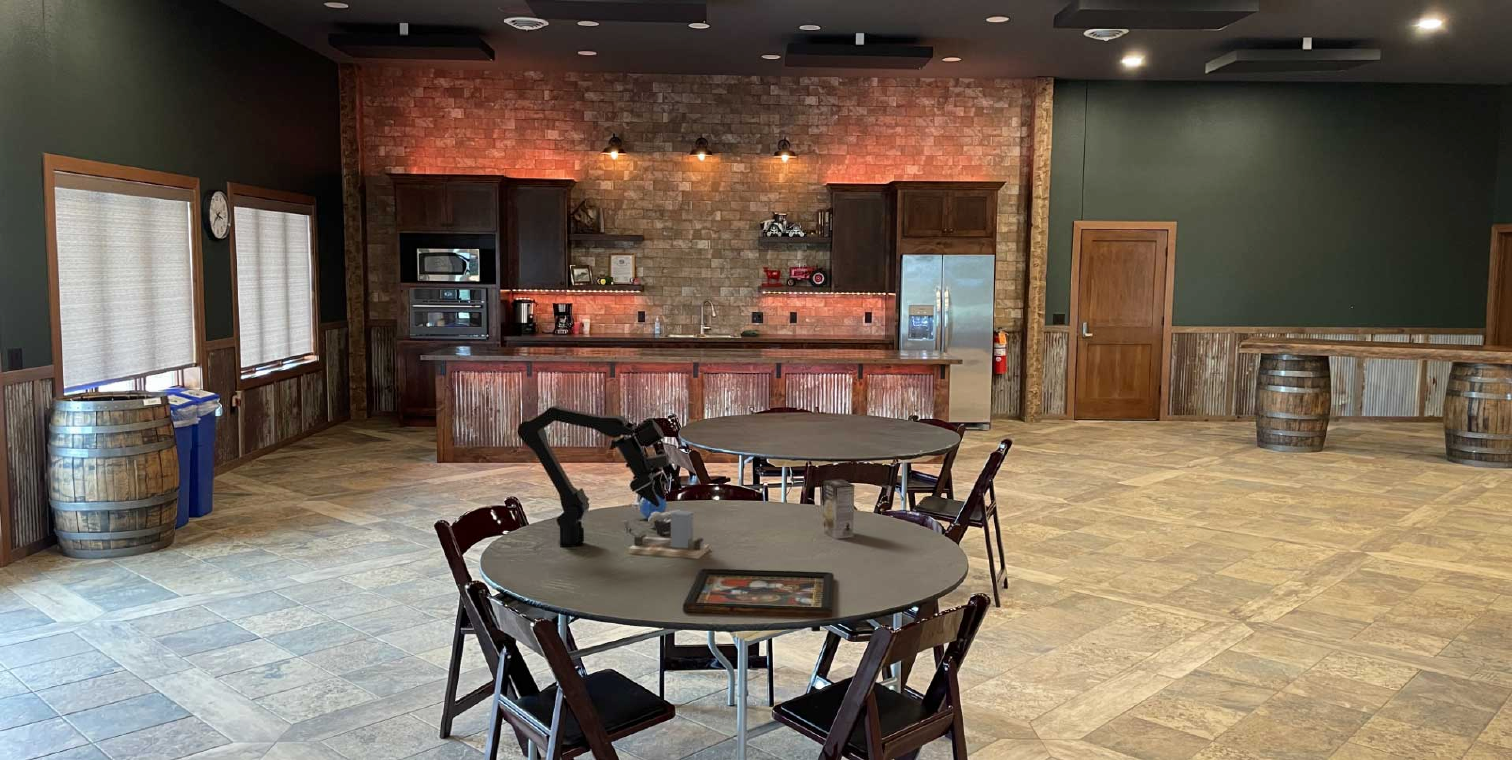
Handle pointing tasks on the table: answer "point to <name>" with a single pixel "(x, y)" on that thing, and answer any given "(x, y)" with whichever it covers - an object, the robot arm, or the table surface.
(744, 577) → the framed painting
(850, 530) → the coffee box
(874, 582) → the table surface
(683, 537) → the pale blue rectangular block
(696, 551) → the rail
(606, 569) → the table surface
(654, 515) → the clip-on lamp
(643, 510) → the blue mole toy
